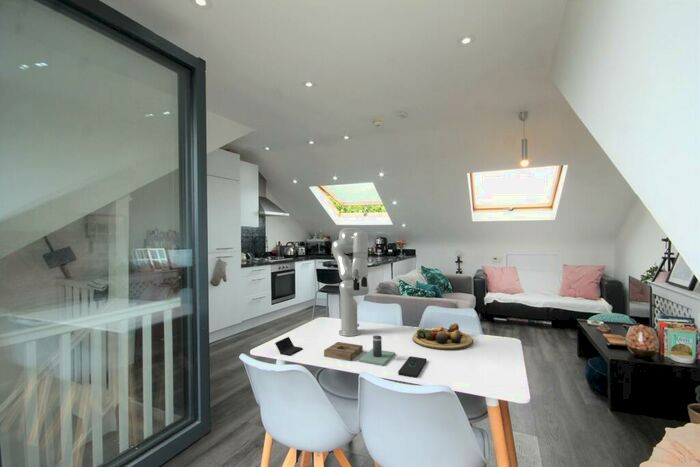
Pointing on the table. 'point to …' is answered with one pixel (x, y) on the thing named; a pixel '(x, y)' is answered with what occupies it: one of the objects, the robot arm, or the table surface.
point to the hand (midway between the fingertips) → (360, 288)
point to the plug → (377, 346)
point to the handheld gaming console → (287, 347)
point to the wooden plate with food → (443, 338)
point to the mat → (377, 358)
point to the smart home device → (412, 367)
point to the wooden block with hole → (343, 351)
